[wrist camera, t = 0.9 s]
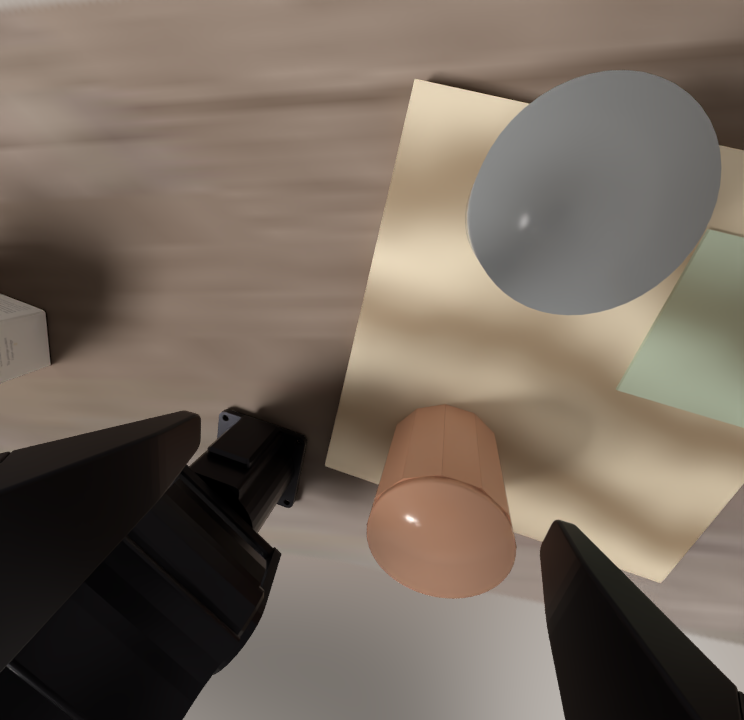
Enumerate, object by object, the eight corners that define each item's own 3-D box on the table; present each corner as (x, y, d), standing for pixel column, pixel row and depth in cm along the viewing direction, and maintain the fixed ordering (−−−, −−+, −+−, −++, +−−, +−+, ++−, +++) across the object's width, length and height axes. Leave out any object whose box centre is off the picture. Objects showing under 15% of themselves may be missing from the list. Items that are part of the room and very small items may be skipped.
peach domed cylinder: (476, 508, 23) (484, 617, 17) (380, 475, 24) (353, 567, 17) (514, 425, 21) (541, 516, 14) (407, 391, 21) (386, 463, 15)
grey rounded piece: (574, 298, 18) (642, 340, 11) (447, 263, 18) (443, 284, 12) (643, 152, 15) (780, 99, 9) (492, 118, 16) (518, 46, 9)
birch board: (652, 569, 23) (662, 586, 22) (329, 457, 25) (323, 467, 24) (944, 202, 15) (984, 201, 13) (416, 86, 17) (414, 76, 16)
